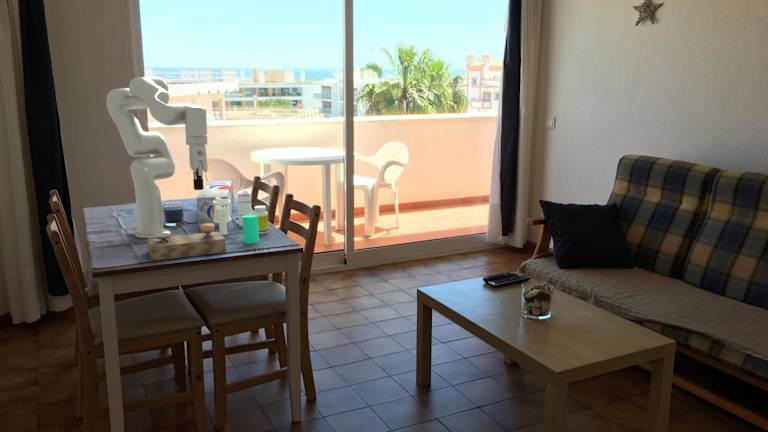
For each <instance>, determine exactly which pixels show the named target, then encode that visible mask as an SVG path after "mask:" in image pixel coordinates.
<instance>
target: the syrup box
mask: <svg viewBox="0 0 768 432" xmlns="http://www.w3.org/2000/svg"><path fill="white" fill-rule="evenodd" d="M251 193H252V192H251V190H241V191H237V192H236V196H237V210H238V211H237V215H238V225H239V227H243V219H242V217H243V215H247V214H252V215H253V207H252V197H251V196H252V195H251Z"/></svg>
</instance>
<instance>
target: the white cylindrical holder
mask: <svg viewBox="0 0 768 432" xmlns="http://www.w3.org/2000/svg"><path fill="white" fill-rule="evenodd" d="M219 202H224V203H219ZM230 204H231V200H227V199H222V198H219V197H216V198H215V200H214V201H213V205H214V216H215V218H214V222H215V223H219V227H218V228H219V229H218V230H219V233H220V234H221V235H222V236H226V235H228V226H227V222H229V223H231V222H232V217H230ZM222 205H227V207H226V206H224V207H222Z"/></svg>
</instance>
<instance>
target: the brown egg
mask: <svg viewBox="0 0 768 432" xmlns="http://www.w3.org/2000/svg"><path fill="white" fill-rule="evenodd" d="M215 230H216V227H215V226H214V224H212V223H205V224H201V227H200V231H201V232H202V233H206V238H209V237H211V233H210V232H215Z"/></svg>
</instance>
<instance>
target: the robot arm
mask: <svg viewBox="0 0 768 432" xmlns="http://www.w3.org/2000/svg"><path fill="white" fill-rule="evenodd" d="M169 101H170V95H169V86H168V83H167V81H166V80H165V79H164V78H163V77H160V76H138V77H135V78H132V80H131V81H130V82H129V84H128V87H120V88H115V89H111V90H110V91H109V92H108V93H107V96H106V108H107V111H108V113H109V115H110V117H111V119H112V120H113V122H114V124H115V125H116V127H117V129H118V132H119V134H120V135H119V136H120V137H121V139H122V143H123V144H124V147H125V150H126V151H127V153H128V154H129V156H131V157H140V158H136V159H134V161H132V163H131V165H130V167H129V168H130V175H131V178H132V180H133V181H132V182H133V186H134V191H135V192H134V193H135V202H136V203H135V204H136V213H137V214H136V215H137V223H131V225H130V229H131V230H135V232H134V236H135V237H136V238H139V239H152V238H156V232H157V231H163V230H167V228H164V221H163V207H162V197H161V196H162V195H161V190H160V188H159V186H158V185H157V184H156V182H155V181H159V180H166V179H170V178H172V177H174V175H175V173H176V164H175V161H174V158H173V155H172V154H171V151H170V149H169V146H168V143H167V141H166V138H165V137H164V136H163V135H162V134H161V133H160V132H158V131H155V130H154V131H153V130H151V131H145V130H143V128H142V126H141V123H140V121H139V119H138V118H137V117H136V116H135V115H134V114H133V113H131V112H130V111H129V110H144V109H148V110H149V114H150V115H151V116H152V118H153V119H154V120H155V121H157V122H159V123H160V124H163V125H165V126H180V125H185V126H184V127H185V128H184V129H185V130H184V131H185V145H187V146H188V147H189V149H188V152H189V154H188V155H189V157H188V158H189V167H190V169H191V170H192V171H193V173H192V174H193V176H192V177H193V179H192V181H193V189H194V190H195V191H201V190H203V186H204V178H203V177H204V172H205V173H207V172H208V157H207V149H206V145H208V126H207V125H208V124H207V109H206V107H205V106H203V105H195V104H192V103H170V104H169ZM146 156H147V157H146Z"/></svg>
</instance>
